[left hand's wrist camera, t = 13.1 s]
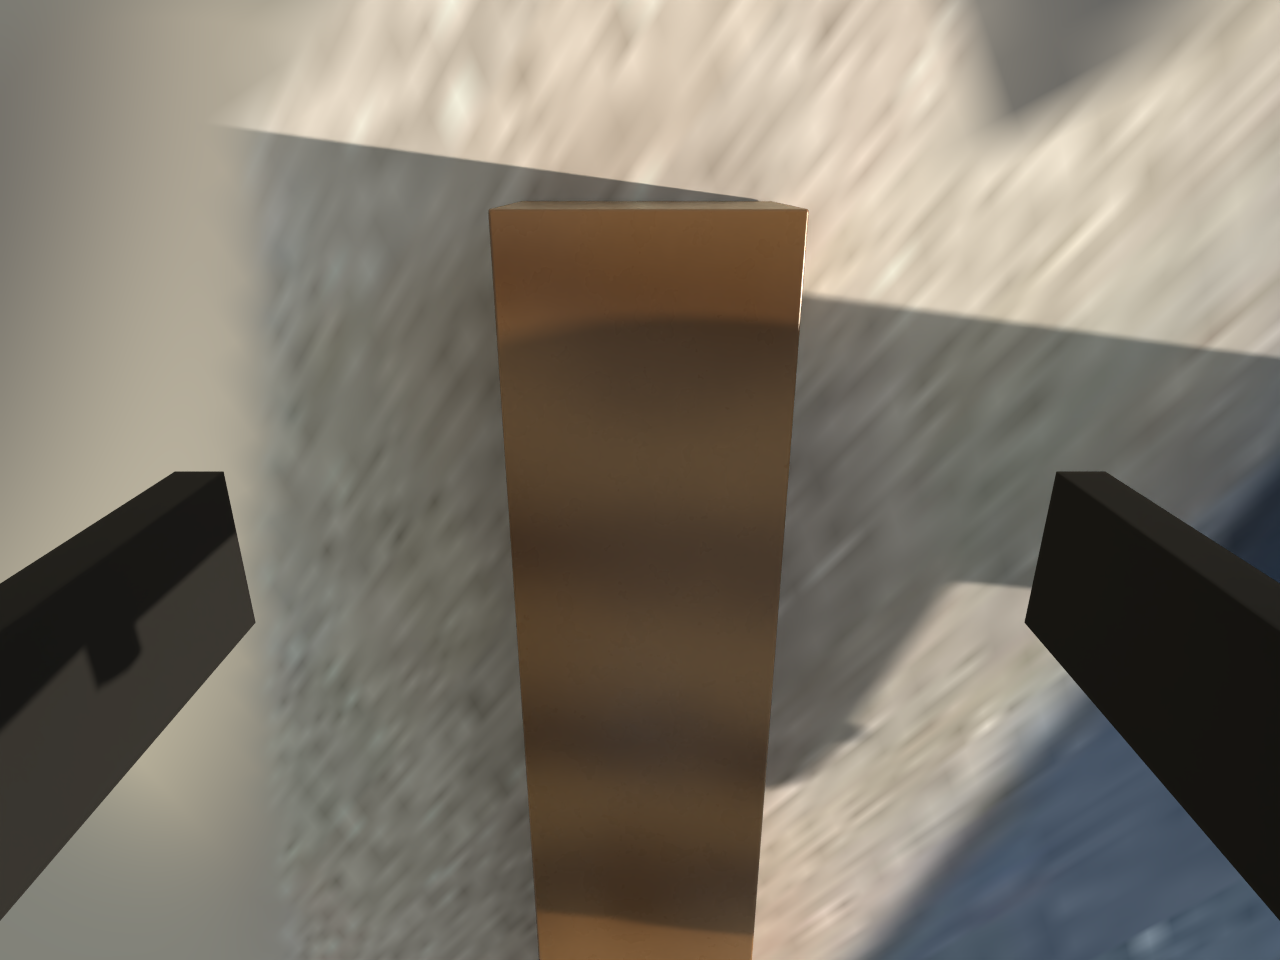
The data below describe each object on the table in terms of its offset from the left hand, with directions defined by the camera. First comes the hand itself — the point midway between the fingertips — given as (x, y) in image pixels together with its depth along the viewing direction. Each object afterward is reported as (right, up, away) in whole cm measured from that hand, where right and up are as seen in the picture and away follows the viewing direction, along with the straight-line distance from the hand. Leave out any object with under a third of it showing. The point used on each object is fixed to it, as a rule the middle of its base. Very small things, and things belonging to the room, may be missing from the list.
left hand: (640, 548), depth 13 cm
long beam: (0, -22, +30) cm, 37 cm away
